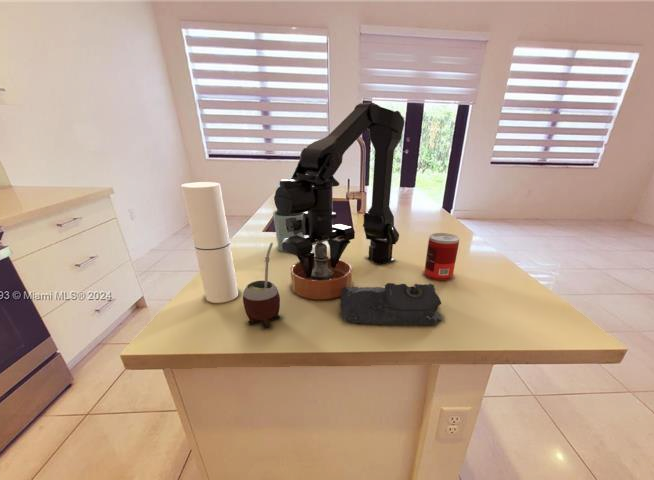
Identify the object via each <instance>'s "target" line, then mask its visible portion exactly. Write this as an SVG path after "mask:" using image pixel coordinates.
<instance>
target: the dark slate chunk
mask: <svg viewBox="0 0 654 480" xmlns="http://www.w3.org/2000/svg"><path fill="white" fill-rule="evenodd" d="M436 290H437V289H436V287H435V285H434V284H433V283H428V284H427V283H426V284H425V283H424V284H422V283H419V284H418V283H415V284H414V286H408V285H407V283H400V284H397V283H395V282H394V283H393V282H387V283H386V284H385V285H384V287H383V286H382V287H380V286H371V287H370V286H363V287H362V286H361V287H359V286H351V287H344V288H343V290H342V292H341V296H339V301H340V303H339V307H340V315H341V317H342V318H343V319H344V322H346V323H354V324H358V325H376V326H419V327H420V326H421V327H422V326H434V325H436V324H437V323H438V322H442V319H443V318H442V316H441V314H439V312H438V308H439V307H440V305H441V304H442V300H441V298H440V296H439V295H438V293H437V292H436Z"/></svg>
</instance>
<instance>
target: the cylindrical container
mask: <svg viewBox="0 0 654 480" xmlns="http://www.w3.org/2000/svg"><path fill="white" fill-rule="evenodd" d="M180 187H181V192H182V196H183V201H184V205H185V209H186V210H185V211H186V215H187V219H188V224H189V227H190V228H189V229H190V232H191V236H192V241H193V245H194V251H195V254H196V259H197V263H198V269H199V272H200V277H201V282H202V286H203V292H204V296H205V299H206V301H207V302H210V303H212V304H213V303H214V304H221V303H226V302H227V303H228V302H230V301H232V300H234V299H237V297H238V296H239V290H238V289H239V288H238V283H237V278H236V277H237V276H236V270H235V265H234V260H233V253H232V247H231V242H230V241H231V240H230V236H229V229H228V223H227V217H226V211H225V205H224V198H223V192H222V187H221V183H220V182H213V181H197V182H187V183H182V184H181V185H180Z"/></svg>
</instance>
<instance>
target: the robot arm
mask: <svg viewBox="0 0 654 480" xmlns="http://www.w3.org/2000/svg"><path fill="white" fill-rule="evenodd" d="M404 128H405V119H404V117H403V116H402V114H401V112H400V111H399V110H393V109H389V108H386V107H382V106H380V105H378V104H377V103H375V102H362V103H361V102H359V103H358V104H356V105H355V107H354V109H353V110H352V111H351V112H350V113H349V114H348V115H347V116H346V117H345V118H344V119H343V120H342V121H341V122H340V123H339V124H338V125H337V126H336V127H335V128H334V129H333V130H332V131H331V132H330V133H329V134H328V135H326V136H325V137H323V138H321V139H319V140H318V139H317V140H316V141H313V142H311V143H310V144H308V145H307V146H305V147H304V148H303V149H302V150H301V152H300V155H299V156H300V158H299V160H298V161H297V162H298V163H297V165H296V166H295V169H294V171H293V173H292V175H291V177H290V179H279V186H278V187H277V188H276V189H275V193H274V196H273V201H274V205H275V208H276V210H278V211H279V212H280V213H281V214H282V215H284V216H288V215H293V214H298V213H302V212H304V214H303V219H300V220H297V219H296V218H295V217H291V218H287V219H286V229H287V231H288V232H292V231H293V234H294V235H296V234H297V233H301V232H302V235H304V238H303V237H300V236H297V235H296V236H292V237H288V238H285V239H284V240H283V241H282V250H283V251H285V252H284V253H288V254H290V255H293V256H296V258H297V259H298V262H299V261H300V263H301V265H302V267H303V269H304V272H305V274H306V276H307V277H308V278H310V277H311V275H312V269H313V262H314V257H315V252H313V249H314V248H313V247H314V246H315V245H316V244H318V243H321V242H322V243H324V242H327V243H328V246H329V258H330V262H331V267H332V268H335V267H336V265H337V263H338V261H339V260H341V257H342V255H343V253H344V251H345V250H346V248H347V247H348V245H349V244H350V243H351V241H352V240H355V235H356V232H355V230H354V228H353V226H349V225H345V224H342V223H338V224H334V221H333V220H334V219H337V213H336V212H334V210H333V209H334V208H333V207H334V206H333V205H334V204H333V201H334V200H333V199H334V198H333V192H334V191H333V187H339V186H340V182H339V181H338V180H337V179H336V178H335V177H334V176H335V174H336V172H337V171H338V169H339V168H340V167H341V165H342V163H343V159H344V158H343V157H344V154H345V153H346V152H347V151H348V150H349V149H350V147H351V146H352V145H353V144H354V143H356V141H357V140H358V139H359V138H360V137H361V136H362V135H363V133H364V132H366V131H367V130H368V132H369V141H370V142H371V144H372V146H373V149H374V159H373V161H374V162H373V174H372V194H371V206H370V208H369V209H368V211H367V212H364V214H363V224H362V227H363V231H364V235H365V239H366V240H369V243H370V244H369V246H368V255H367V256H366V259H368V260H369V261H371V262H372V263H374V264H376V265H383V264H387V263H388V264H389V263H393V262H395V261H396V259H395V258H393V248H394V245H397V243H398V242H399V239H400V234H399V231H398V230H397V229H396V227H395V216H394V214H393V212H392V209H391V207H390V203H391V192H392V180H393V166H394V156H395V150H396V149H397V147H398V145H399V144H400V142H401V140H402V136H403V131H404ZM307 236H308V237H307Z"/></svg>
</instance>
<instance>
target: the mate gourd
mask: <svg viewBox="0 0 654 480" xmlns="http://www.w3.org/2000/svg"><path fill="white" fill-rule="evenodd" d="M273 246H274V243H273V242H270V243H269V246H268V249H267V252H266V256H265V257H264V258H265V260H264V262H265V266H264V267H265V270H264V280H255V281H252V282H250V283H248V284H247V285H246V286H245V288H244V289H243V292H242V302H243V307H244V308H243V309H244V312H245V315H246V316H247V318H248V320H247V322H248V325H254V324H259V323H262V324H263V327H264V329H269V328H270V325H269V322H271V321H276V320H280V317H281V316H280V315H279V313H280V308H281V294H280V293H279V289H278V287H277V286H276V284H275V283H273V282H271V281H269V279H268V278H269V263H270V259H271V258H270V255H271V251H272V248H273Z"/></svg>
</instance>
